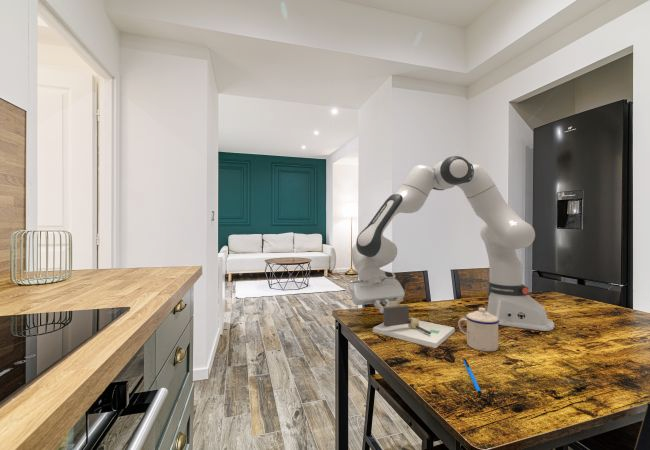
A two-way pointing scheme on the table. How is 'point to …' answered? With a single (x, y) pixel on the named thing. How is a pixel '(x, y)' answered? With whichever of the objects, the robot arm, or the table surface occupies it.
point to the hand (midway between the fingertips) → (385, 312)
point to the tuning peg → (400, 317)
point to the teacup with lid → (481, 330)
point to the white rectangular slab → (417, 333)
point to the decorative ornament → (394, 303)
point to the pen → (472, 377)
